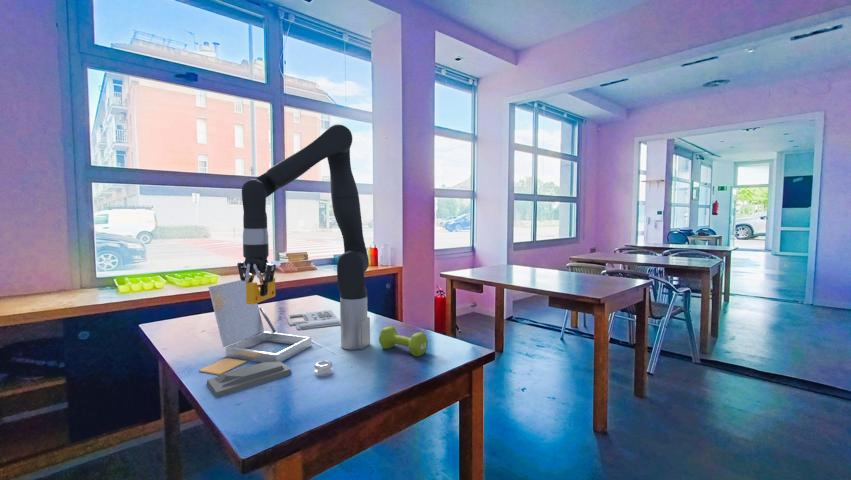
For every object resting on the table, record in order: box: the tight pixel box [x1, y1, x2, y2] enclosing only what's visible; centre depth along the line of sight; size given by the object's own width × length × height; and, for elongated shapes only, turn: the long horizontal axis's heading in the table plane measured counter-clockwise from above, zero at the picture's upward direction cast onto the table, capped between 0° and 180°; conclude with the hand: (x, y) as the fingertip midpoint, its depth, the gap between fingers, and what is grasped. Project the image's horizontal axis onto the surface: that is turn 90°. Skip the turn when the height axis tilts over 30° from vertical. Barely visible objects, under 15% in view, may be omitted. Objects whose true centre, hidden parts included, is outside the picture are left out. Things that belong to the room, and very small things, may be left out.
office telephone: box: [285, 309, 341, 331], centre depth 167 cm, size 23×3×20 cm
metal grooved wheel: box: [314, 360, 333, 377], centre depth 114 cm, size 5×3×5 cm
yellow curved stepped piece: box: [246, 276, 276, 304], centre depth 128 cm, size 12×4×6 cm, turn 169°
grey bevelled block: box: [206, 360, 292, 398], centre depth 110 cm, size 10×20×4 cm, turn 133°
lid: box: [207, 279, 265, 348], centre depth 135 cm, size 20×18×1 cm
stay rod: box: [258, 306, 276, 332], centre depth 143 cm, size 7×1×10 cm, turn 70°
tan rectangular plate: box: [198, 357, 247, 376], centre depth 118 cm, size 8×10×1 cm
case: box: [225, 330, 312, 363], centre depth 132 cm, size 20×19×3 cm
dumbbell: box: [378, 325, 429, 357], centre depth 131 cm, size 16×8×7 cm, turn 56°
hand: (256, 294), depth 127 cm, fingers closed on yellow curved stepped piece, 4 cm apart
